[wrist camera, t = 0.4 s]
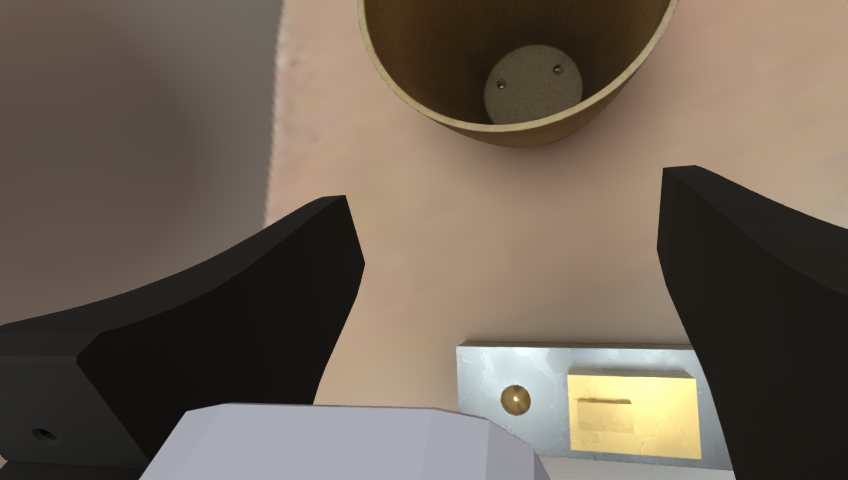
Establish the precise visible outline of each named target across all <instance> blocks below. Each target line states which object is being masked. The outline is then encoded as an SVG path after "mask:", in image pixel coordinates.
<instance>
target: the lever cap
mask: <svg viewBox="0 0 848 480" xmlns="http://www.w3.org/2000/svg"><path fill="white" fill-rule="evenodd" d="M567 376H568V397H569V418H570V439H571V450H581V451H594V452H608V453H622V454H636V455H649V456H663V457H677V458H691V459H701V446H700V432H699V418H698V404H697V389H696V379H695V378H694V377H693V376H692V375H690V374H689V373H688V372H687V371H654V370H616V369H578V368H568V374H567Z"/></svg>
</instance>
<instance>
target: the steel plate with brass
mask: <svg viewBox="0 0 848 480" xmlns="http://www.w3.org/2000/svg"><path fill="white" fill-rule="evenodd" d="M456 348H457V384H458V412H461V413H466V414H471V415H476V416H481V417H486V418H487V419H489V420H491V421H492V422H494V423H495V424H497V425H499V426H500V427H502V428H504V429H505V430H507V431H508V432H510V433H512V434H513V435H515V436H516V437H518V438H520V439H521V440H523V441H525V442H526V443H527V444H529V445H530V446H532V447H533V448H534V449H535V451H536V453H537V455H538V456H551V457H564V458H577V459H590V460H603V461H616V462H629V463H642V464H655V465H667V466H680V467H693V468H706V469H719V470H732V471H733V467H732V464H731V460H730V456H729V453H728V449H727V446H726V442H725V438H724V435H723V431H722V428H721V425H720V421H719V418H718V415H717V411H716V408H715V405H714V401H713V398H712V395H711V391H710V388H709V385H708V383H707V380H706V377H705V375H704V372H703V370H702V367H701V365H700V363H699V360H698V358H697V356H696V353H695V351H694V349H693V347H692V344H623V343H540V342H464V343H462V344H460V345H458V346H456ZM568 368H578V369H616V370H654V371H687V372H688V373H689V374H690V375H692V376H693V377H694V378H695V379H696V389H697V404H698V418H699V432H700V446H701V459H691V458H677V457H663V456H649V455H636V454H622V453H608V452H594V451H581V450H571V439H570V418H569V397H568V376H567V374H568Z"/></svg>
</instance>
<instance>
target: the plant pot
mask: <svg viewBox="0 0 848 480" xmlns="http://www.w3.org/2000/svg"><path fill="white" fill-rule="evenodd" d="M678 2H679V0H357V5H358V18H359V25H360V30H361V34H362V37H363V40H364V43H365V46H366V49H367V51H368V54H369V56H370V58H371V60H372V62H373V64H374V66H375V68H376V70H377V71H378V73H379V74H380V76H381V77H382V79H383V80H384V81H385V82H386V83H387V85H388V86H389V87H390V88H391V89H392V90H393V91H394V92H395V94H397V95H398V96H399V97H400V98H401V99H402V100H403V101H404V102H406V103H407V104H408V105H410V106H411V107H412V108H414V109H415V110H417V111H418V112H420V113H422V114H423V115H425V116H427V117H429V118H430V119H432V120H434V121H436V122H437V123H439V124H441V125H443V126H445V127H447V128H449V129H451V130H453V131H456V132H458V133H460V134H462V135H465V136H467V137H470V138H473V139H475V140H478V141H482V142H485V143H489V144H494V145H498V146H505V147H532V146H538V145H543V144H546V143H550V142H553V141H556V140H558V139H560V138H563V137H565V136H567V135H568V134H570V133H572V132H574V131H575V130H577V129H579V128H580V127H582V126H583V125H584V124H586V123H587V122H588V121H590V120H591V119H592V118H594V117H595V116H596V115H597V114H598V113H599V112H601V111H602V110H603V109H604V108H605V107H606V106H607V105H608V104H609V103H610V102H611V101H612V100H613V99H614V98H615V97H616V96H617V94H618V93H619V92H620V91H621V90H622V89H623V87H624V86H625V85H626V84H627V83H628V81H629V80H630V79H631V78H632V77H633V75H634V74H635V73H636V72H637V70H638V69H639V68H640V66H641V65H642V64H643V62H644V61H645V60H646V59H647V57H648V56H649V54H650V53H651V51H652V50H653V49H654V47H655V46H656V44H657V43H658V42H659V40H660V39H661V37H662V35H663V33H664V32H665V30H666V28H667V26H668V24H669V22H670V20H671V18H672V16H673V14H674V12H675V9H676V7H677V4H678ZM557 66H559V67H560V68H559V70H557V71H554V69H555V68H556V67H557ZM499 84H502V85H503V86H504V88H499V87H498V85H499Z"/></svg>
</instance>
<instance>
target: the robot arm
mask: <svg viewBox="0 0 848 480" xmlns="http://www.w3.org/2000/svg"><path fill="white" fill-rule="evenodd" d="M657 252H658V256H659V260H660V264H661V268H662V272H663V276H664V279H665V283H666V286H667V289H668V291H669V294H670V296H671V298H672V301H673V303H674V305H675V308H676V310H677V312H678V315H679V317H680V319H681V322H682V324H683V326H684V328H685V331H686V333H687V335H688V337H689V340H690V342H691V344H692V347H693V349H694V351H695V353H696V356H697V358H698V360H699V363H700V365H701V367H702V370H703V372H704V375H705V377H706V380H707V383H708V385H709V388H710V391H711V395H712V398H713V401H714V405H715V408H716V411H717V415H718V418H719V421H720V425H721V428H722V431H723V435H724V438H725V442H726V446H727V449H728V453H729V456H730V460H731V464H732V467H733V471H734V474H735V478H736V480H848V229H846V228H842V227H839V226H836V225H833V224H831V223H828V222H825V221H822V220H819V219H817V218H814V217H812V216H809V215H807V214H804V213H802V212H799V211H797V210H794V209H792V208H789V207H787V206H784V205H782V204H780V203H778V202H775V201H773V200H771V199H769V198H766V197H764V196H762V195H760V194H758V193H756V192H753V191H751V190H749V189H747V188H745V187H743V186H741V185H739V184H737V183H735V182H733V181H730V180H728V179H726V178H724V177H722V176H720V175H718V174H716V173H714V172H712V171H709V170H707V169H705V168H702V167H699V166H696V165H691V166H679V167H667V168H663V175H662V188H661V201H660V214H659V227H658V240H657ZM364 266H365V261H364V257H363V254H362V250H361V247H360V244H359V240H358V237H357V233H356V230H355V226H354V223H353V219H352V216H351V212H350V209H349V206H348V202H347V199H346V195H339V196H327V197H321V198H319V199H316V200H314V201H312V202H310V203H308V204H306V205H304V206H302V207H300V208H299V209H297V210H295V211H294V212H292V213H290V214H288V215H287V216H285V217H283V218H282V219H280V220H278V221H277V222H275V223H273V224H272V225H270V226H268V227H267V228H265V229H263V230H262V231H260V232H258V233H256V234H255V235H253V236H251V237H249V238H248V239H246V240H244V241H242V242H240V243H239V244H237V245H235V246H233V247H231V248H230V249H228V250H226V251H224V252H222V253H220V254H218V255H216V256H214V257H212V258H210V259H208V260H206V261H204V262H202V263H200V264H197V265H195V266H193V267H191V268H188V269H187V270H184V271H182V272H179V273H177V274H174V275H172V276H169V277H167V278H164V279H161V280H159V281H156V282H153V283H151V284H148V285H145V286H143V287H140V288H137V289H135V290H132V291H129V292H126V293H123V294H120V295H116V296H113V297H110V298H107V299H104V300H100V301H97V302H93V303H90V304H87V305H83V306H79V307H75V308H72V309H68V310H64V311H60V312H55V313H51V314H47V315H43V316H39V317H34V318H30V319H26V320H21V321H17V322H12V323H7V324H4V325H1V326H0V455H1V456H2V457H3V458H4V459H5V460H8V462H7V463H6V464H5V465H4V466H3V467H2V468H1V469H0V480H550V478H549V476H548V474H547V472H546V470H545V468H544V466H543V465H542V463H541V461H540V459H539V457H538V455H537V453H536V451H535V449H534V448H533V447H532V446H530V445H529V444H527V443H526V442H525V441H523V440H521V439H520V438H518V437H516V436H515V435H513V434H512V433H510V432H508V431H507V430H505V429H504V428H502V427H500V426H499V425H497V424H495V423H494V422H492V421H491V420H489V419H487V418H486V417H481V416H476V415H471V414H466V413H461V412H456V411H450V410H445V409H440V408H429V407H388V406H346V405H313V402H314V399H315V396H316V392H317V389H318V386H319V383H320V380H321V378H322V375H323V373H324V370H325V367H326V365H327V363H328V361H329V358H330V356H331V354H332V352H333V349H334V347H335V345H336V343H337V340H338V338H339V336H340V334H341V331H342V329H343V327H344V325H345V322H346V320H347V318H348V316H349V313H350V311H351V309H352V306H353V304H354V301H355V299H356V297H357V293H358V290H359V286H360V283H361V279H362V275H363V271H364Z"/></svg>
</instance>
